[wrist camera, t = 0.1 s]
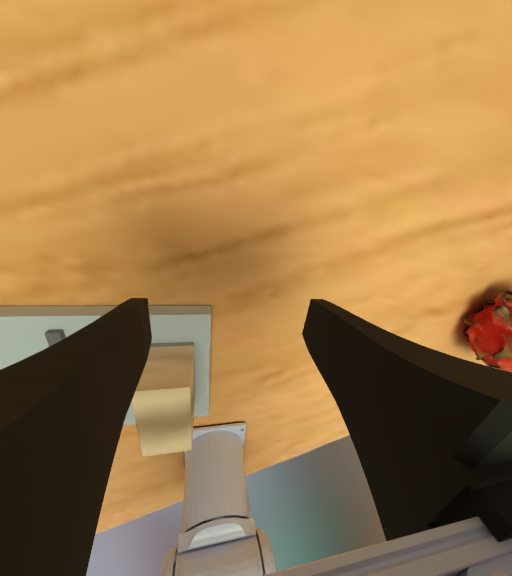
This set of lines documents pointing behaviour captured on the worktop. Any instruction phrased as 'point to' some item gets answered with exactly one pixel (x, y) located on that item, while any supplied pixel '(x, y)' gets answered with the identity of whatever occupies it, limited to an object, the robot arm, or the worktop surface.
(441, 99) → the worktop surface
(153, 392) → the block
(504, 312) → the dragon fruit
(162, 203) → the worktop surface
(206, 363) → the board
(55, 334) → the pencil mark
